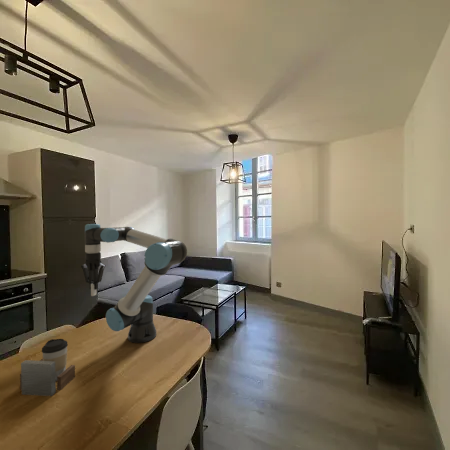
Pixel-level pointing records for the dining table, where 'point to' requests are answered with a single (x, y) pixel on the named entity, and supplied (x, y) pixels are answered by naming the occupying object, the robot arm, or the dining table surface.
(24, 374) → the grey bookend
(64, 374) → the walnut shelf wall
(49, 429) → the dining table surface
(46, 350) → the coffee cup
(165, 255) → the robot arm
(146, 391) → the dining table surface
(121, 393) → the dining table surface
